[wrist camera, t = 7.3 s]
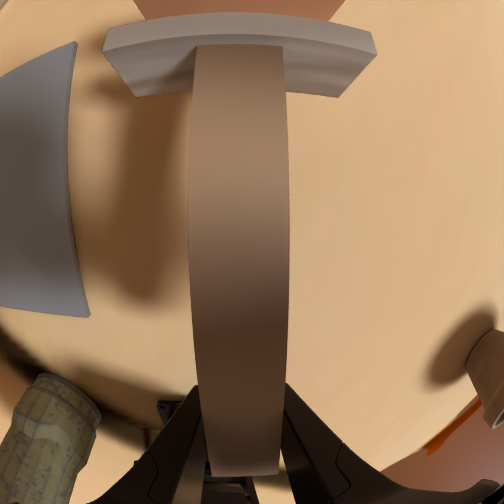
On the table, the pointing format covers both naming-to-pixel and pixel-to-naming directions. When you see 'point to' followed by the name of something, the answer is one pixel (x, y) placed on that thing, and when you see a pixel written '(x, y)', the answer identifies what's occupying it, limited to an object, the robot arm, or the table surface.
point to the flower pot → (489, 375)
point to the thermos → (47, 442)
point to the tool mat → (38, 189)
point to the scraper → (239, 198)
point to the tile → (240, 7)
